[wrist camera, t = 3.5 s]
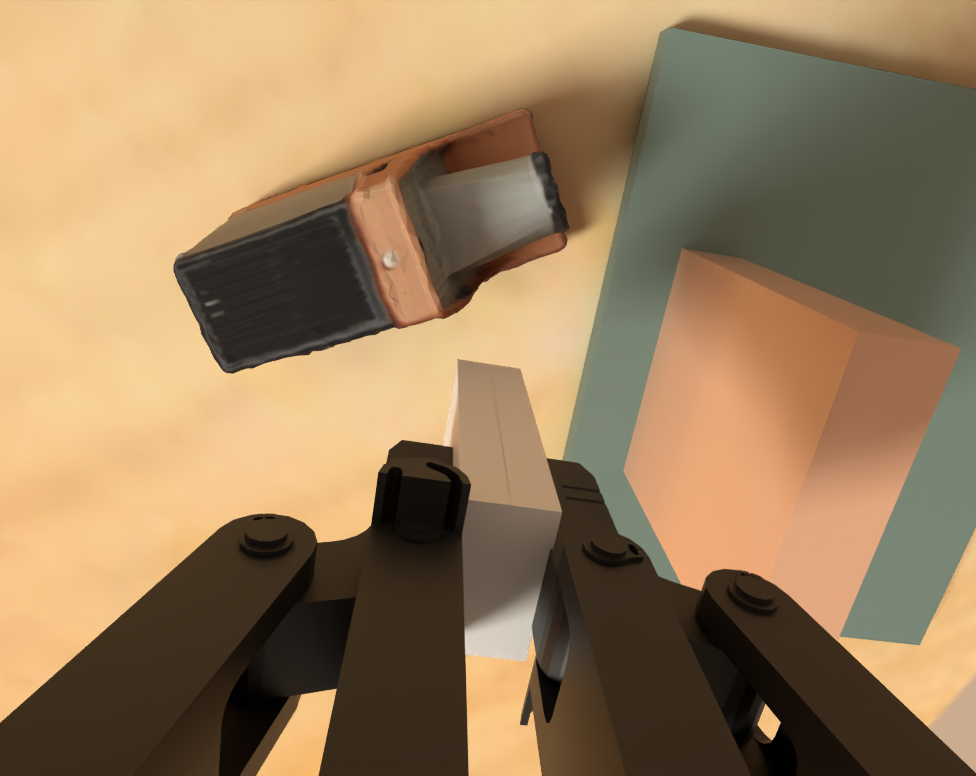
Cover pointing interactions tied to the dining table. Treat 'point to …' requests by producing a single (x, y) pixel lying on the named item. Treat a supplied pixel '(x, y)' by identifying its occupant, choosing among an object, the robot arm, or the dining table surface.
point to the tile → (779, 430)
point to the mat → (801, 265)
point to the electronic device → (374, 245)
